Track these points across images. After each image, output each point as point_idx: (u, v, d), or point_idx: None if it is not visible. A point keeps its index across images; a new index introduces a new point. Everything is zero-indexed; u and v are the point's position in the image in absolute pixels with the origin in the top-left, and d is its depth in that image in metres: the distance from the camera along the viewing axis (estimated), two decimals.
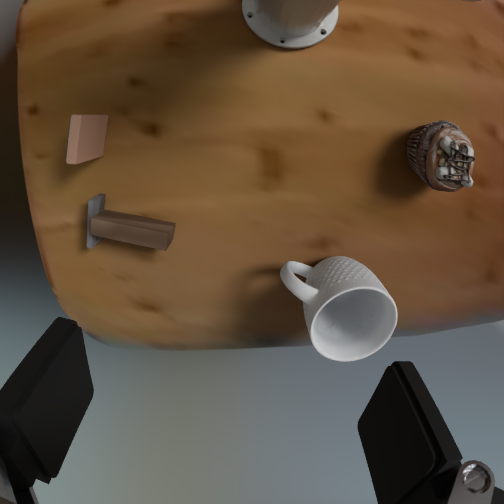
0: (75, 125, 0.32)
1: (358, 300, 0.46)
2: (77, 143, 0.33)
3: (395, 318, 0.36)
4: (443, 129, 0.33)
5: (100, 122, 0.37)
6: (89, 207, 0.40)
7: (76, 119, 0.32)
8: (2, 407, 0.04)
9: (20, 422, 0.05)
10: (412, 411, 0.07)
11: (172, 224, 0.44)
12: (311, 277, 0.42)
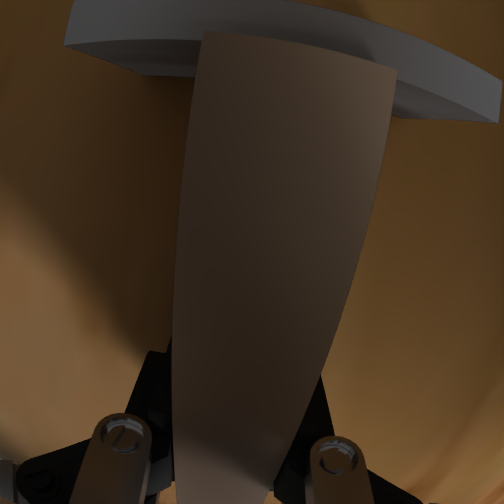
0: None
1: None
2: None
3: None
4: None
5: None
6: (459, 66, 0.04)
7: None
8: (164, 408, 0.06)
9: None
10: None
11: None
12: None
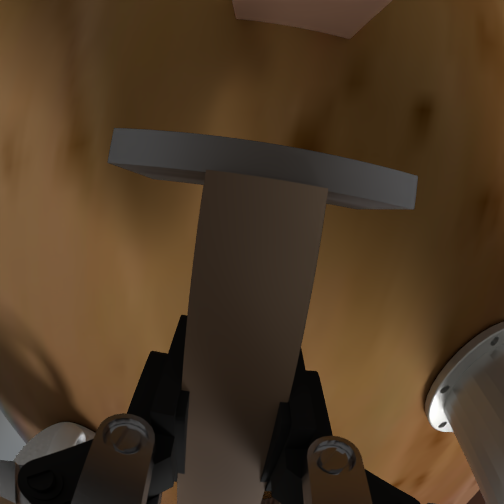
0: None
1: None
2: None
3: None
4: None
5: (340, 20, 0.11)
6: (380, 173, 0.07)
7: None
8: (167, 408, 0.06)
9: (181, 420, 0.06)
10: None
11: None
12: None
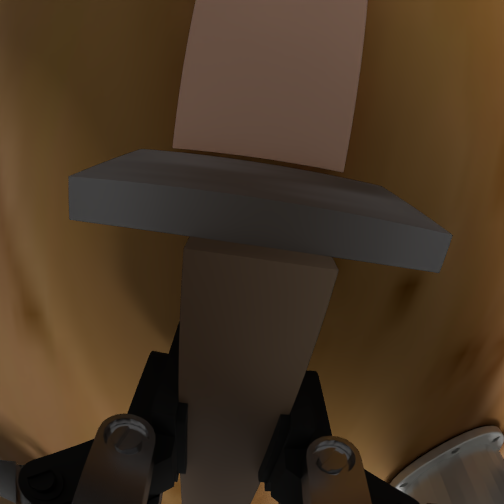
0: None
1: None
2: None
3: None
4: None
5: (325, 101, 0.10)
6: (408, 234, 0.05)
7: None
8: (168, 408, 0.06)
9: (182, 421, 0.06)
10: None
11: None
12: None
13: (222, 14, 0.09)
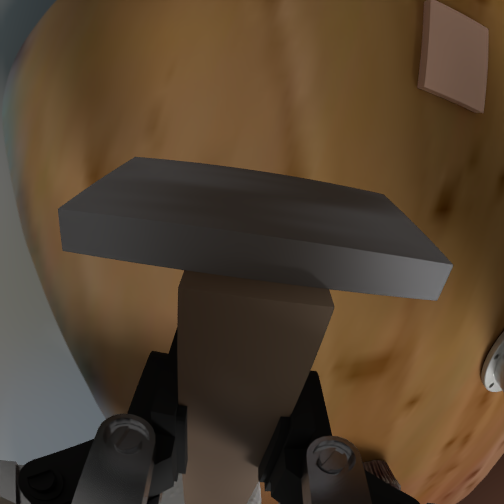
0: None
1: None
2: (456, 11, 0.16)
3: None
4: None
5: (477, 81, 0.18)
6: (407, 266, 0.05)
7: None
8: (168, 408, 0.06)
9: (182, 421, 0.06)
10: None
11: None
12: None
13: (440, 33, 0.17)
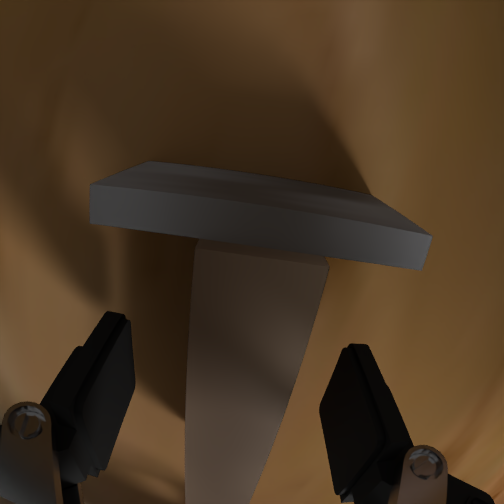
0: None
1: None
2: None
3: None
4: None
5: None
6: (391, 235, 0.06)
7: None
8: (64, 401, 0.05)
9: None
10: (361, 391, 0.07)
11: None
12: None
13: None
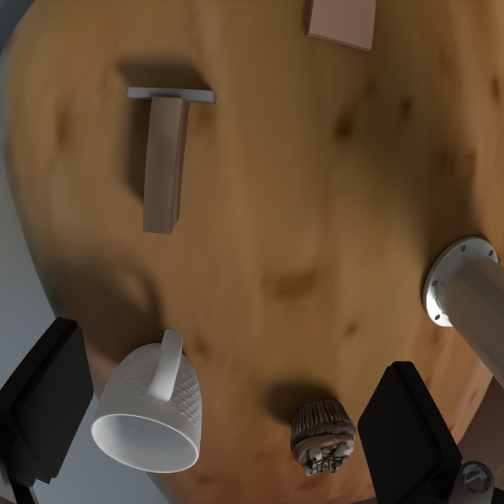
0: None
1: None
2: None
3: (165, 471, 0.28)
4: (353, 440, 0.36)
5: (363, 25, 0.23)
6: (200, 92, 0.23)
7: None
8: (2, 407, 0.05)
9: (20, 422, 0.05)
10: (412, 411, 0.07)
11: (177, 218, 0.30)
12: None
13: None
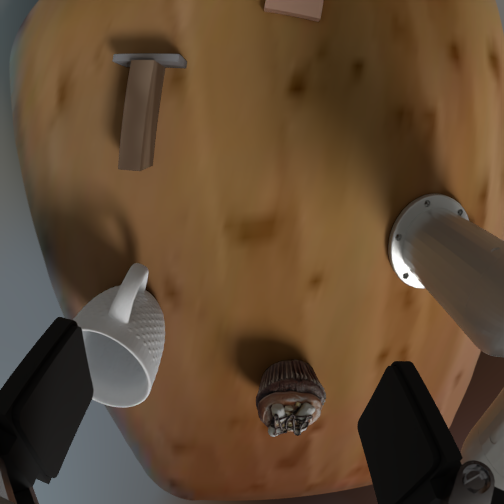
0: None
1: (119, 343, 0.39)
2: None
3: (122, 405, 0.31)
4: (319, 401, 0.38)
5: None
6: (169, 55, 0.26)
7: None
8: (2, 407, 0.05)
9: (20, 422, 0.05)
10: (412, 411, 0.07)
11: (150, 164, 0.33)
12: (135, 299, 0.34)
13: None
